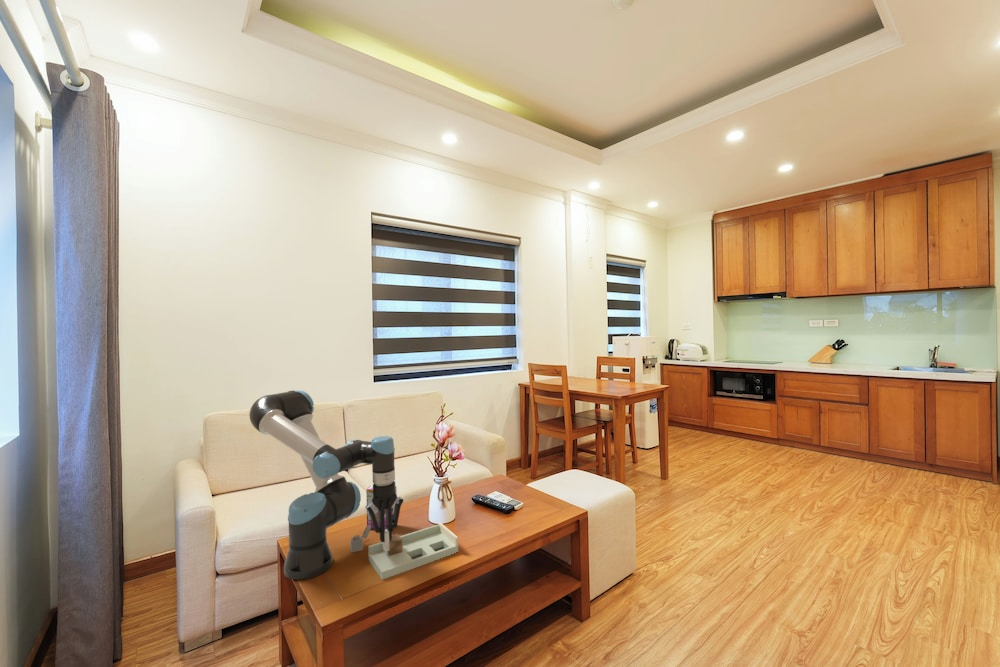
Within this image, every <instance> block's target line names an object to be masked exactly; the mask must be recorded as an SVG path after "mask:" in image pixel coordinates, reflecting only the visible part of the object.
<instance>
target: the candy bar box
mask: <svg viewBox="0 0 1000 667" xmlns="http://www.w3.org/2000/svg"><path fill="white" fill-rule="evenodd" d="M397 489H398V488H397V485H395V490H396V491H395V493H396V495H397V494H398V493H397ZM372 499H373V484H370V485H369V487H367V489H366V505H370V504H371V503H372ZM395 503H396V502H394V504H393V506H392V512H391V513H392V518H393V513H394V507H395ZM373 511H374V514H375V517H376V520H377V524H378V527H379V512H378V509H377V507H376V506H375V505H374V510H373ZM384 523H385V529H387V528H386V509H385V513H384ZM366 526H370V527H371V529H370V530H374V528H373V524H372V521H371V518H370V514H369V511H368V510H367V509H366ZM394 529H395V528H393V530H394Z"/></svg>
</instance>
